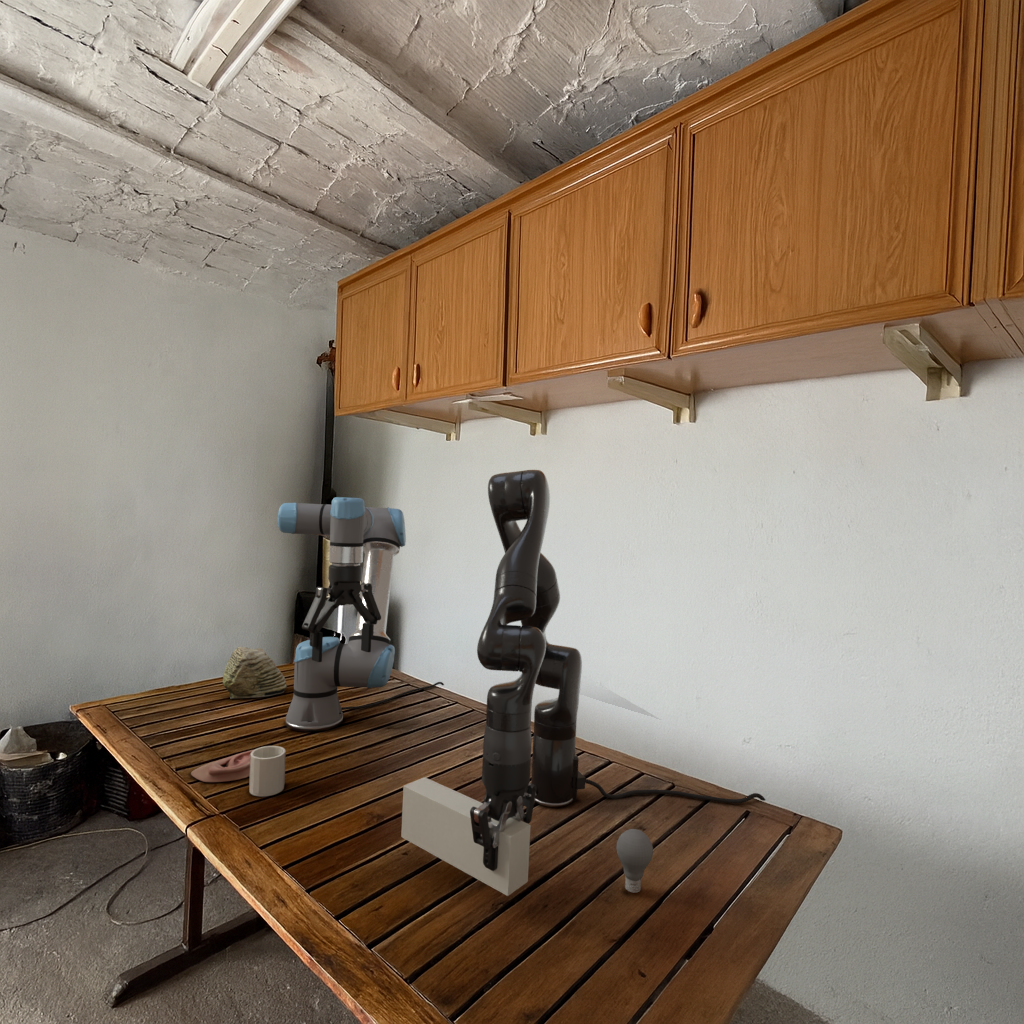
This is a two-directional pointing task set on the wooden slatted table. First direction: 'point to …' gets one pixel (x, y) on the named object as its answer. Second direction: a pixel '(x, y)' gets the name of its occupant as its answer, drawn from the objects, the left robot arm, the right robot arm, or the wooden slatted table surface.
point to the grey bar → (463, 835)
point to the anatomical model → (225, 769)
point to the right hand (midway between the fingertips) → (502, 860)
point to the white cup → (267, 770)
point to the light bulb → (634, 857)
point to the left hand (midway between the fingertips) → (342, 656)
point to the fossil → (252, 674)
